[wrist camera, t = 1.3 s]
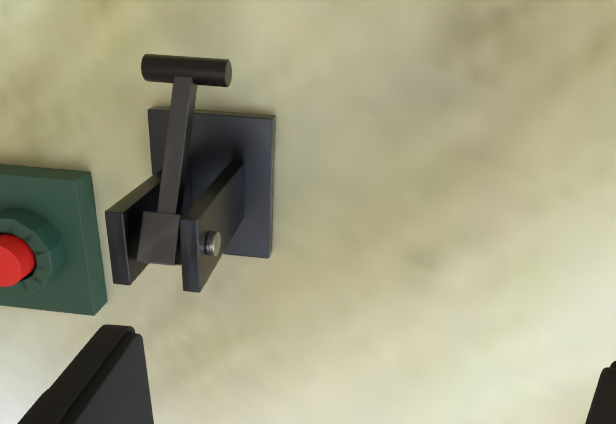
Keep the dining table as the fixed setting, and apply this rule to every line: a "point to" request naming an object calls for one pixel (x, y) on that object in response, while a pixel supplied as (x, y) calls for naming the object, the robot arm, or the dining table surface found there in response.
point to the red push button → (14, 259)
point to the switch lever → (175, 148)
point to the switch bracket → (204, 195)
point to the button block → (53, 239)
